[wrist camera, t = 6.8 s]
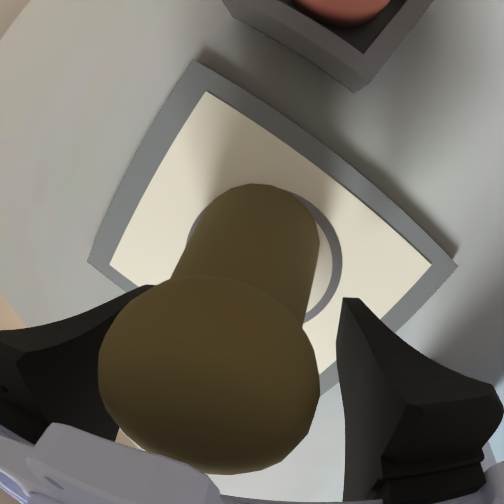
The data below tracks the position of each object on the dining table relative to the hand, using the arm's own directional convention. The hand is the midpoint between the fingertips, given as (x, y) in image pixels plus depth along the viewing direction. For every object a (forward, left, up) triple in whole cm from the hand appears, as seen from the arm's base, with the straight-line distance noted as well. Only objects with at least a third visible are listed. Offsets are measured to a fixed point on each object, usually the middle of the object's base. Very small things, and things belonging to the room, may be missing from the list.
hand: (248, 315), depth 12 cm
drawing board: (0, 0, -5) cm, 5 cm away
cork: (+1, -1, -5) cm, 5 cm away
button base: (+5, -13, -5) cm, 15 cm away
